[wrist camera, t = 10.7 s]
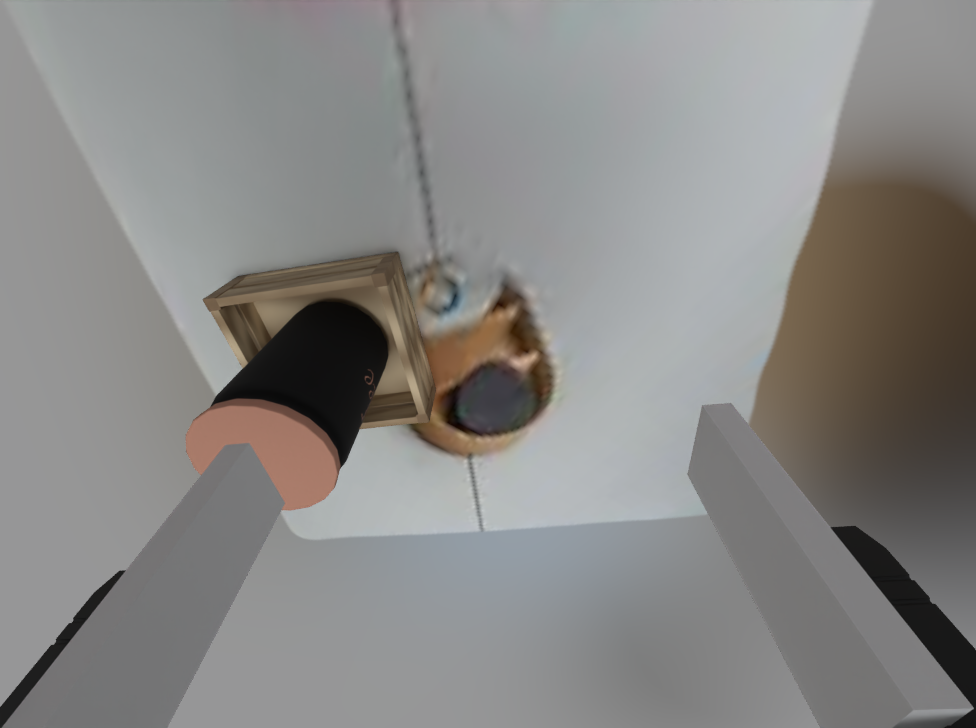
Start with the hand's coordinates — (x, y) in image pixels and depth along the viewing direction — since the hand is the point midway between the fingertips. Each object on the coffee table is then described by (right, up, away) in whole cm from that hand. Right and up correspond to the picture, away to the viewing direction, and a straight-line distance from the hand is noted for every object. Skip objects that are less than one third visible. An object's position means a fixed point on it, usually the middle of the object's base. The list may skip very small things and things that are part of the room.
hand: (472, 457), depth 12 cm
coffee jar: (-16, +5, +32) cm, 36 cm away
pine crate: (-16, +6, +33) cm, 37 cm away
